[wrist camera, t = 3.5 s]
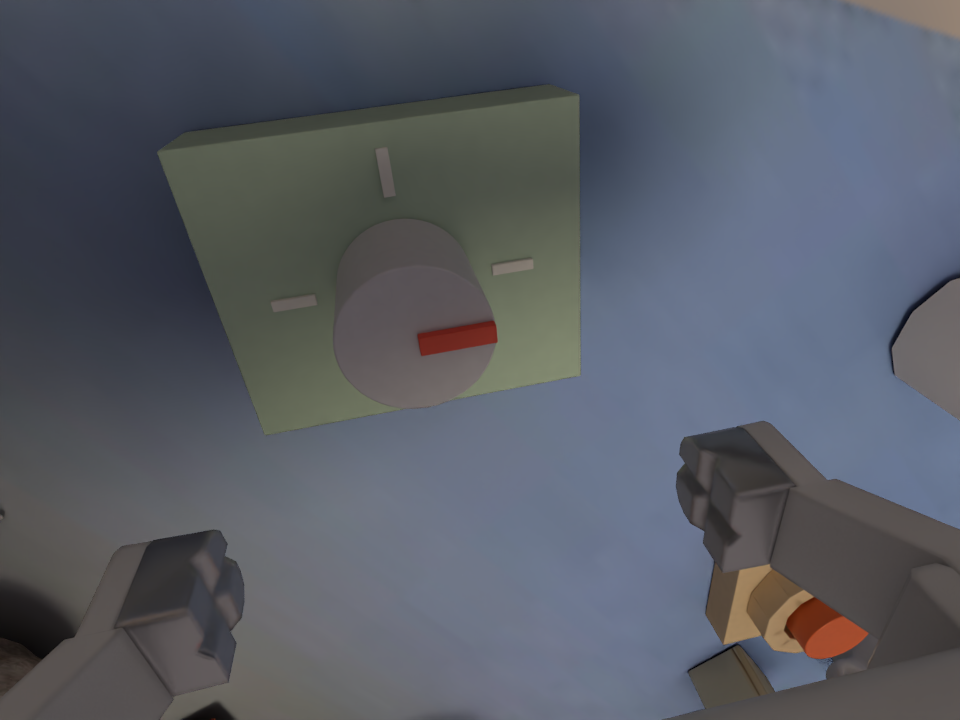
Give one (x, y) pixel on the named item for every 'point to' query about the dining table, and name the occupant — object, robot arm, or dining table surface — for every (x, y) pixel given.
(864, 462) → the dining table surface
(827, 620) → the button
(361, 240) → the program dial
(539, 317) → the panel
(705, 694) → the cosmetic box
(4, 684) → the stone
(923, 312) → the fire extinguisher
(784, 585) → the block
